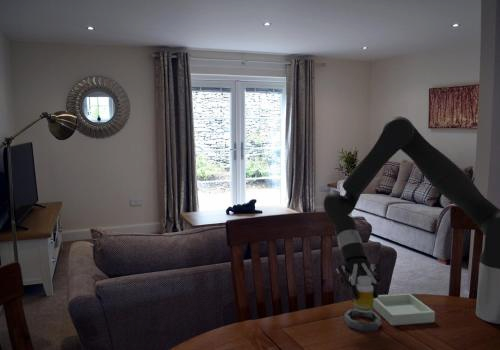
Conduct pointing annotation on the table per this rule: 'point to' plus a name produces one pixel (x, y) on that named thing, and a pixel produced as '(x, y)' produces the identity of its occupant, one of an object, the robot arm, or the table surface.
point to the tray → (403, 309)
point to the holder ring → (359, 325)
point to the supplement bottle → (364, 294)
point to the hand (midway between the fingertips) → (366, 298)
